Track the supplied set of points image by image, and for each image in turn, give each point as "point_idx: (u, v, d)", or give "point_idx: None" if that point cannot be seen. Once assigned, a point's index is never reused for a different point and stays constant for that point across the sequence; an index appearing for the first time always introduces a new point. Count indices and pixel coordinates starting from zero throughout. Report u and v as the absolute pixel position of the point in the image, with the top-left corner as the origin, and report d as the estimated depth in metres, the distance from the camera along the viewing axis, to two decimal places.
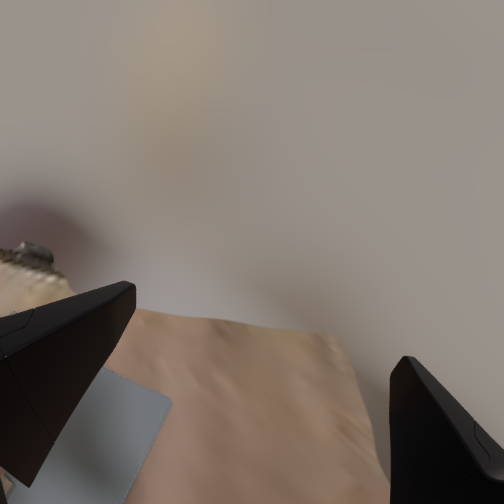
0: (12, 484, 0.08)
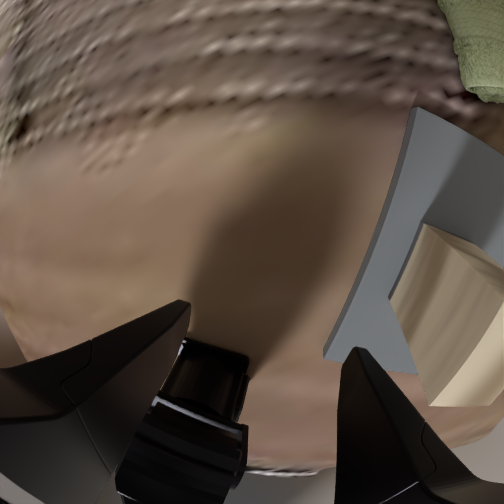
0: None
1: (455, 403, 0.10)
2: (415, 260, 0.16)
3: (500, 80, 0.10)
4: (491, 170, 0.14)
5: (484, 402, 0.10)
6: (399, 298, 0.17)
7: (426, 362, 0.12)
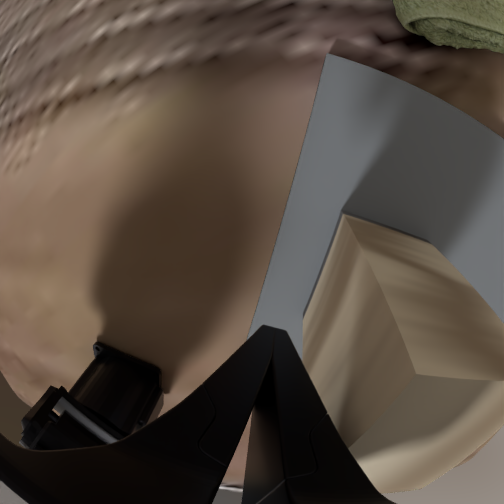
0: None
1: None
2: (328, 266, 0.12)
3: (452, 9, 0.07)
4: (454, 137, 0.10)
5: (409, 488, 0.06)
6: (309, 318, 0.13)
7: None
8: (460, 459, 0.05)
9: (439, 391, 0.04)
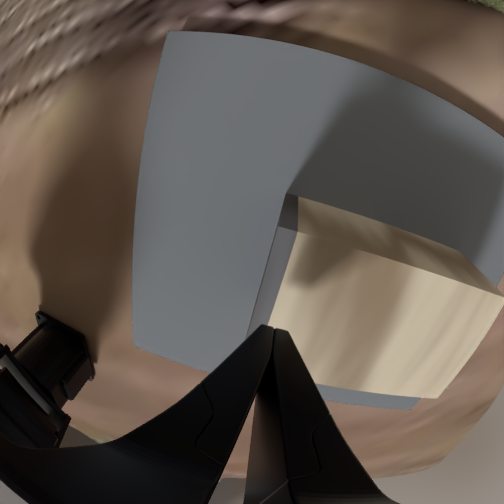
0: None
1: None
2: (302, 302, 0.09)
3: None
4: (305, 78, 0.11)
5: None
6: None
7: (412, 384, 0.10)
8: None
9: None
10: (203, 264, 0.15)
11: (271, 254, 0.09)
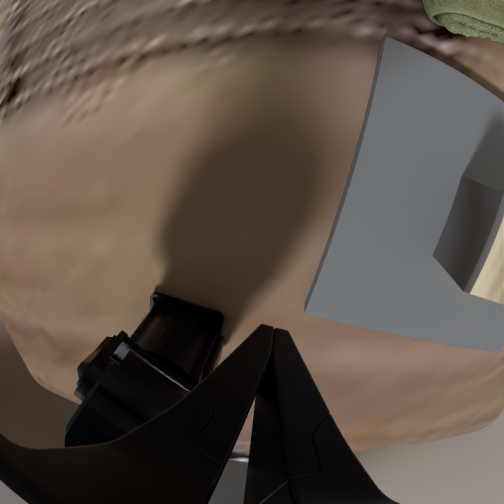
0: None
1: None
2: None
3: (465, 8, 0.09)
4: (473, 101, 0.12)
5: None
6: (488, 283, 0.12)
7: None
8: None
9: None
10: (402, 226, 0.17)
11: (498, 208, 0.11)
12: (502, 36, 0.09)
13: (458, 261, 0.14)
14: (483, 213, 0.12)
